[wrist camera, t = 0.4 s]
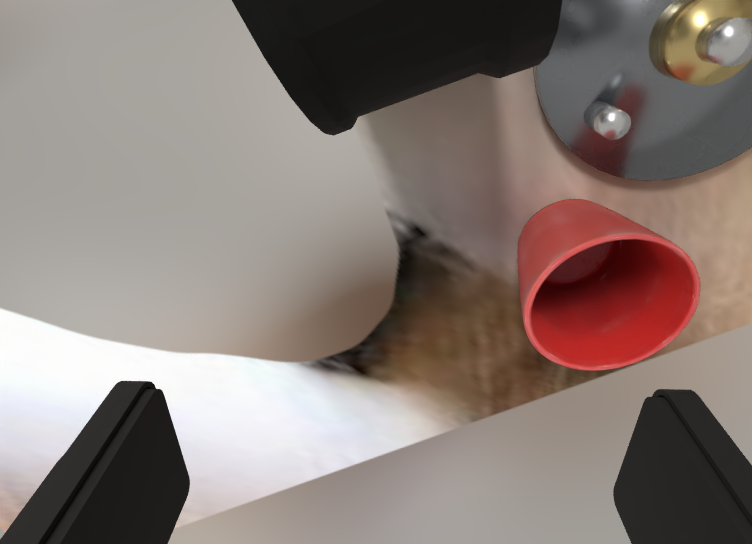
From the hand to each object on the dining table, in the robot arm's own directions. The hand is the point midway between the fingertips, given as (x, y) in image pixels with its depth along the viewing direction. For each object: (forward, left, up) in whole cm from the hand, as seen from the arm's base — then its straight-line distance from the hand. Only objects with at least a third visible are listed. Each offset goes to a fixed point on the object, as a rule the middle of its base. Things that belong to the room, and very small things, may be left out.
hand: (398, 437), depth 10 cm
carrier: (-8, +18, -29) cm, 35 cm away
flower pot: (+8, +15, -30) cm, 34 cm away
